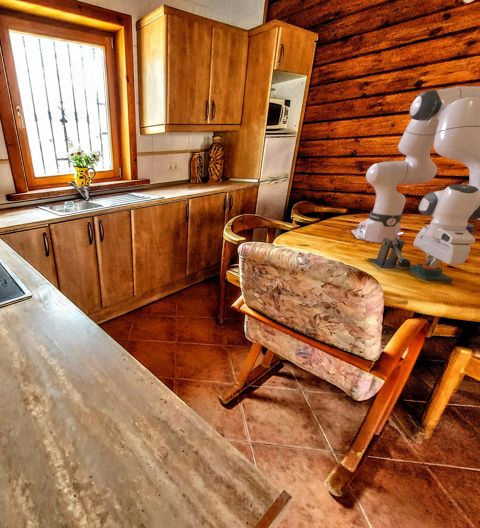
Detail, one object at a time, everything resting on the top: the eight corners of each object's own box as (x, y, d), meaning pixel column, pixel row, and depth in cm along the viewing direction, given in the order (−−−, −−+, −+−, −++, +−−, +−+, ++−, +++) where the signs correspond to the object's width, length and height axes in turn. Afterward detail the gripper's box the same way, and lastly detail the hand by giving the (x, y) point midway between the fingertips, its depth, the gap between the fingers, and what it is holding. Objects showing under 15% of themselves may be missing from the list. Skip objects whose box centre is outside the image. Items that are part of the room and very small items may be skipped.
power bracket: (403, 271, 112) (414, 244, 107) (379, 270, 114) (389, 243, 109) (389, 261, 121) (398, 236, 116) (367, 260, 123) (375, 235, 118)
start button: (418, 267, 109) (419, 263, 108) (430, 268, 108) (432, 264, 107) (425, 272, 105) (427, 268, 104) (438, 273, 104) (440, 268, 103)
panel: (403, 269, 114) (406, 260, 112) (427, 270, 112) (431, 261, 110) (423, 282, 103) (427, 273, 102) (450, 284, 101) (454, 274, 100)
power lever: (409, 270, 106) (414, 263, 104) (397, 269, 107) (403, 263, 105) (394, 244, 115) (398, 238, 113) (383, 244, 116) (388, 238, 114)
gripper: (415, 223, 110) (403, 255, 115) (456, 240, 92) (439, 277, 97) (434, 224, 108) (421, 256, 114) (480, 241, 90) (462, 278, 96)
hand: (430, 266), depth 106 cm, fingers closed, pressing on start button
